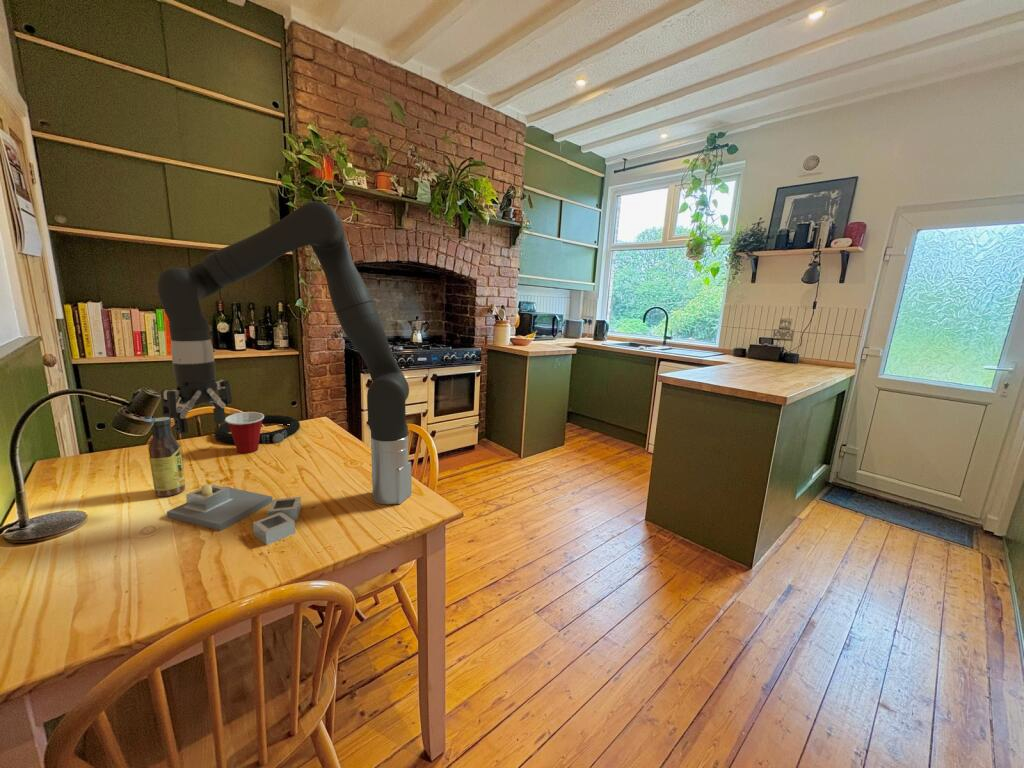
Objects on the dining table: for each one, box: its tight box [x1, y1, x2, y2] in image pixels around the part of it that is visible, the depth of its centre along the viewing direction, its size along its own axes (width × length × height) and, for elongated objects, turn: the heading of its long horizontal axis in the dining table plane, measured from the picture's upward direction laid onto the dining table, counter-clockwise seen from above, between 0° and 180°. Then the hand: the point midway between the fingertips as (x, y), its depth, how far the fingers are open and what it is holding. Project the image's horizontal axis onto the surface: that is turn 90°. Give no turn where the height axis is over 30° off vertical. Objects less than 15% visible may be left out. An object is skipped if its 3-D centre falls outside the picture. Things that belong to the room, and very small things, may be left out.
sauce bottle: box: [148, 416, 186, 498], centre depth 105 cm, size 7×6×20 cm
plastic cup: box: [224, 411, 265, 455], centre depth 135 cm, size 11×11×12 cm
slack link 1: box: [267, 496, 302, 521], centre depth 98 cm, size 6×6×3 cm
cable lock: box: [213, 414, 301, 445], centre depth 153 cm, size 28×4×30 cm
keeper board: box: [166, 483, 273, 531], centre depth 99 cm, size 16×14×6 cm
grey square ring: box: [185, 483, 230, 511], centre depth 99 cm, size 6×6×3 cm
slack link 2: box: [252, 512, 296, 546], centre depth 90 cm, size 6×6×3 cm
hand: (202, 428), depth 95 cm, fingers open, 8 cm apart
